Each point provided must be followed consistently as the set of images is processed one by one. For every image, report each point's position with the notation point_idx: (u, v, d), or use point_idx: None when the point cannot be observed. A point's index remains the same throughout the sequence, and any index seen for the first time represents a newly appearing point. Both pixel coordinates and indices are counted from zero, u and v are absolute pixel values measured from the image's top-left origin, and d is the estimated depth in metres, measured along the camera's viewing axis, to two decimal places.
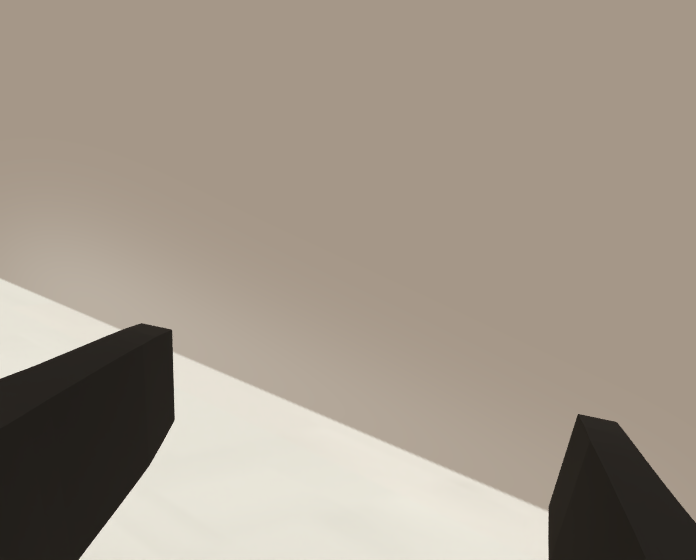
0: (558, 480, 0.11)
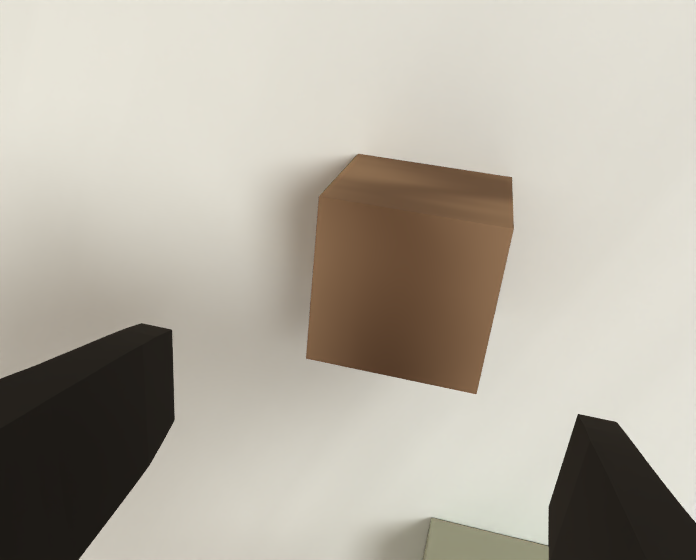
0: (558, 480, 0.11)
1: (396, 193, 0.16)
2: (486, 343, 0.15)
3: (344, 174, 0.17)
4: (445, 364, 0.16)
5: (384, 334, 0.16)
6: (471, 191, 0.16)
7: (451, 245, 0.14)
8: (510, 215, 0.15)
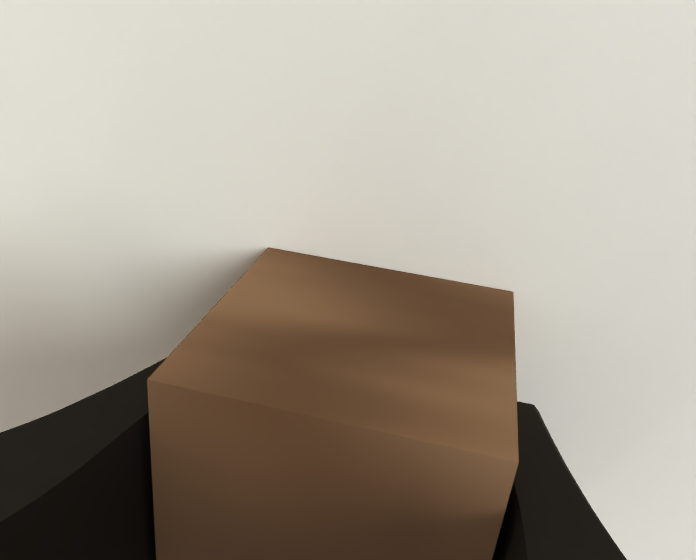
0: None
1: (304, 355, 0.09)
2: None
3: (223, 306, 0.10)
4: None
5: None
6: (442, 338, 0.09)
7: (397, 479, 0.07)
8: (512, 412, 0.08)
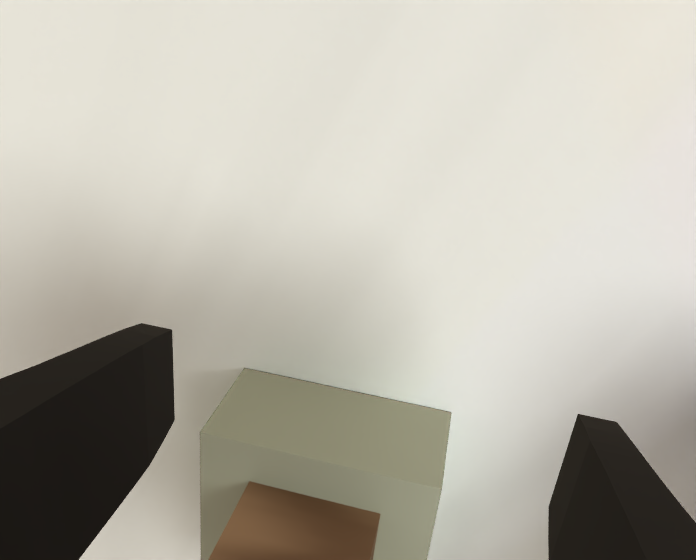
0: (558, 480, 0.11)
1: None
2: None
3: (224, 537, 0.19)
4: None
5: None
6: (333, 556, 0.19)
7: None
8: None
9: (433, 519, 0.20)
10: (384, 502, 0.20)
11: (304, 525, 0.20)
